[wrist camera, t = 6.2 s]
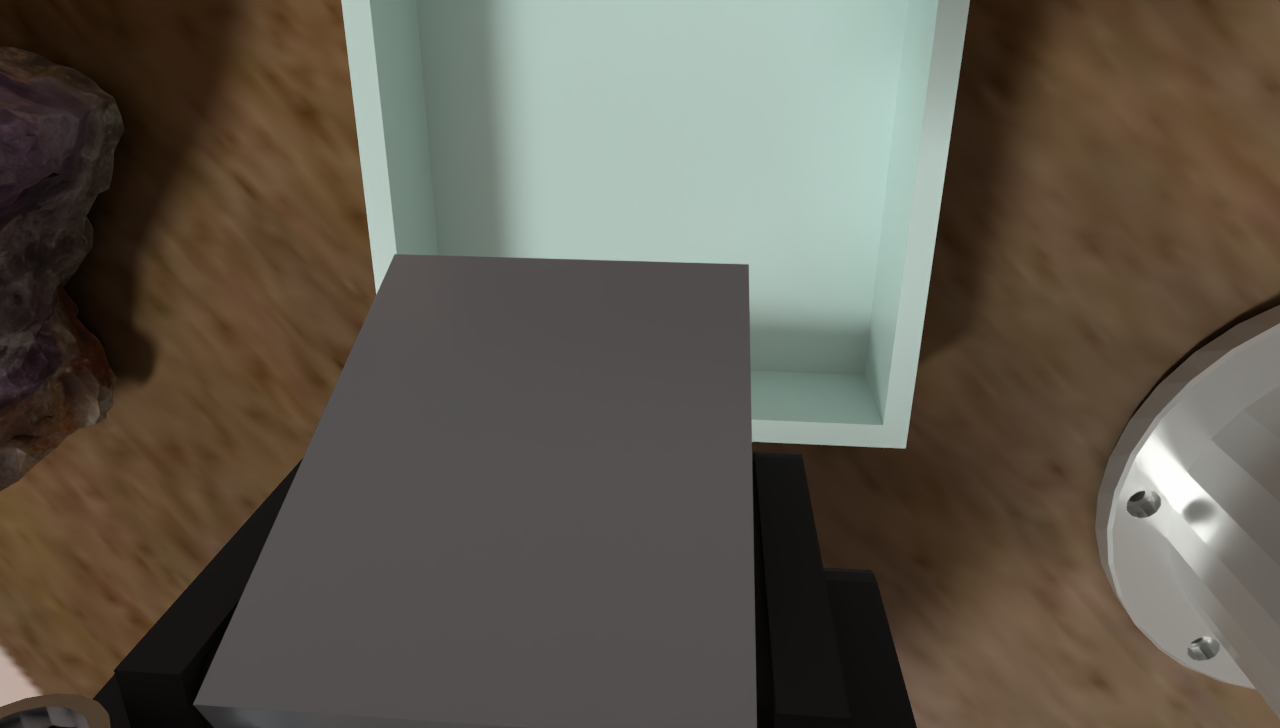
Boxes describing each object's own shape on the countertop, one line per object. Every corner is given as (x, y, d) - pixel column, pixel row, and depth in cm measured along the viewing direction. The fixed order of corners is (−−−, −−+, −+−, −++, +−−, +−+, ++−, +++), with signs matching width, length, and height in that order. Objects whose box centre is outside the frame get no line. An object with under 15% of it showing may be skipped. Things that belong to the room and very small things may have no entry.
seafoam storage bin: (945, -135, 19) (993, -162, 16) (880, 386, 24) (905, 448, 21) (388, -132, 20) (322, -158, 17) (434, 368, 25) (391, 425, 22)
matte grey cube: (748, 264, 10) (757, 743, 6) (730, 484, 12) (728, 901, 9) (394, 253, 10) (192, 704, 6) (456, 471, 13) (343, 868, 9)
